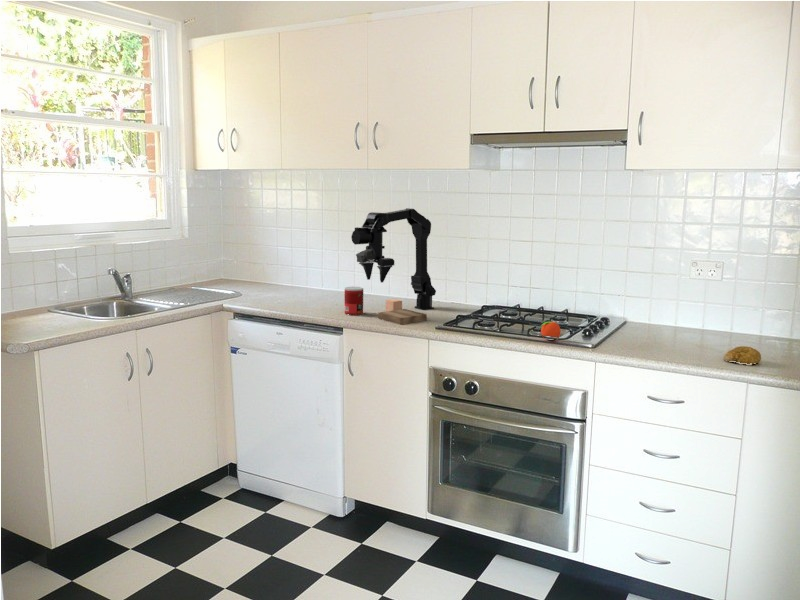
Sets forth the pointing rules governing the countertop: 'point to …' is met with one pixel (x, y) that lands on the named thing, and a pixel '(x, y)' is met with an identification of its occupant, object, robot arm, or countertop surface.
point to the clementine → (550, 329)
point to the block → (393, 304)
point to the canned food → (353, 300)
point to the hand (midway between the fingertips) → (375, 281)
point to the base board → (402, 316)
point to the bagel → (743, 355)
